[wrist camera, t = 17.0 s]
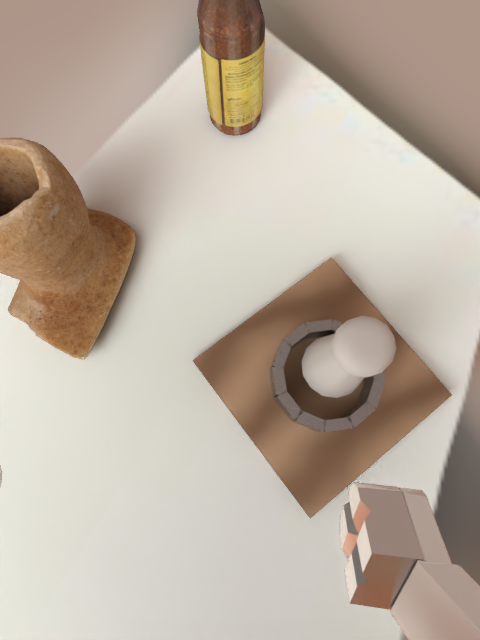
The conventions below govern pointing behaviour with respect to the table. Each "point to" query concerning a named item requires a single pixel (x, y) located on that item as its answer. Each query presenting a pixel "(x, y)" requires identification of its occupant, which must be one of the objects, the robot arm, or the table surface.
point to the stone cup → (57, 249)
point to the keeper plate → (296, 440)
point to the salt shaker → (348, 356)
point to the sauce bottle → (232, 62)
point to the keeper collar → (289, 406)
